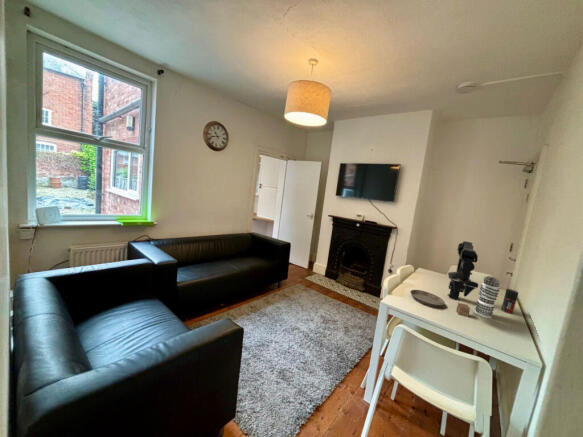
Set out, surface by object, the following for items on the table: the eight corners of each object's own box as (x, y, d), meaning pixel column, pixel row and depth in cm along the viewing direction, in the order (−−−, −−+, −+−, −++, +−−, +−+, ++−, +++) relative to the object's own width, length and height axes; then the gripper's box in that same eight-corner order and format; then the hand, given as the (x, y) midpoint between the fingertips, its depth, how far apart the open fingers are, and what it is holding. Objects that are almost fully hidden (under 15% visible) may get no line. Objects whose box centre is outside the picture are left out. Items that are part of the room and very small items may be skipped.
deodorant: (509, 310, 158) (515, 290, 156) (514, 314, 153) (520, 293, 151) (499, 308, 160) (504, 288, 158) (503, 312, 155) (509, 291, 152)
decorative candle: (496, 318, 144) (506, 281, 140) (484, 318, 142) (494, 280, 139) (482, 310, 153) (491, 275, 149) (470, 310, 151) (479, 274, 148)
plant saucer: (433, 296, 167) (434, 292, 166) (450, 311, 146) (451, 306, 146) (404, 291, 168) (405, 287, 168) (417, 305, 148) (418, 301, 148)
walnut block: (456, 311, 147) (458, 302, 146) (465, 313, 146) (467, 304, 145) (458, 314, 143) (460, 305, 142) (467, 317, 141) (470, 308, 140)
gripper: (443, 264, 153) (438, 286, 153) (461, 269, 134) (455, 295, 134) (460, 268, 152) (455, 290, 152) (481, 274, 133) (475, 300, 133)
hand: (459, 294), depth 143 cm, fingers open, 9 cm apart
